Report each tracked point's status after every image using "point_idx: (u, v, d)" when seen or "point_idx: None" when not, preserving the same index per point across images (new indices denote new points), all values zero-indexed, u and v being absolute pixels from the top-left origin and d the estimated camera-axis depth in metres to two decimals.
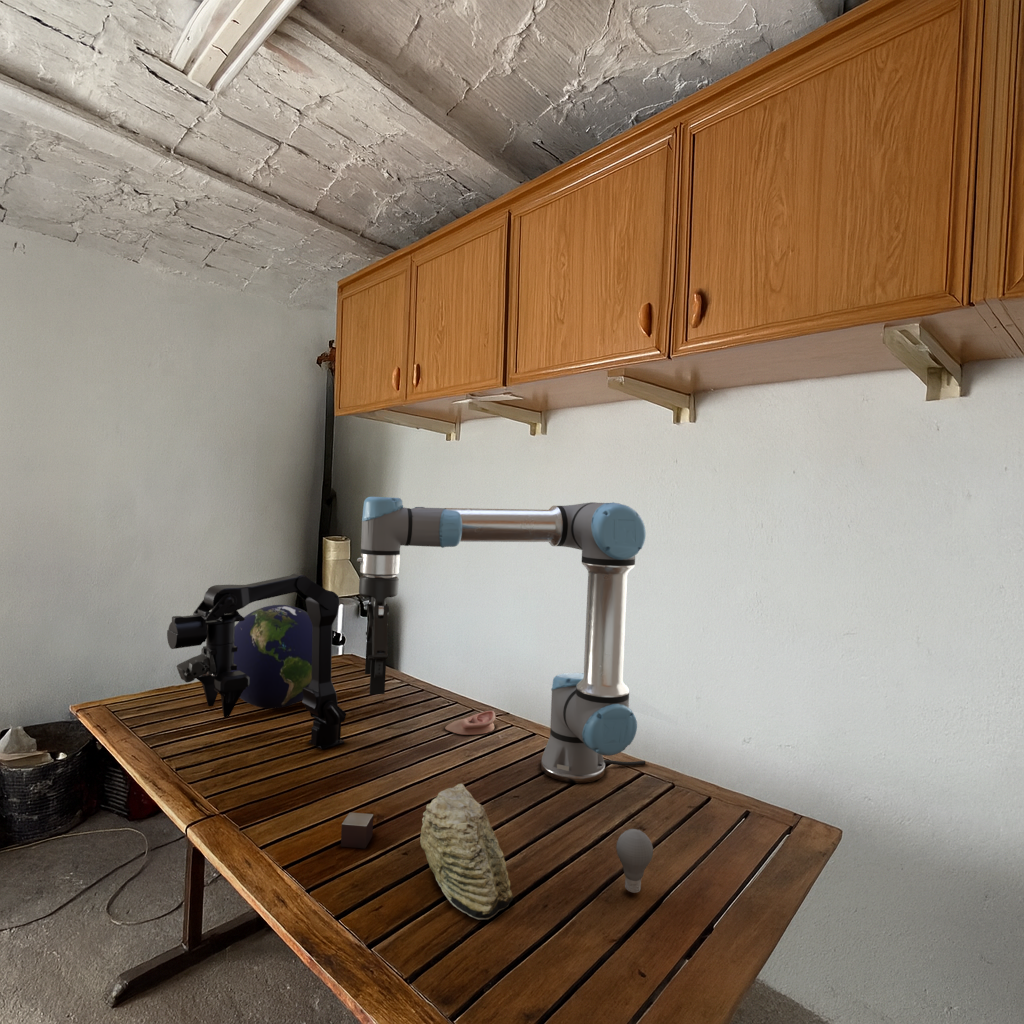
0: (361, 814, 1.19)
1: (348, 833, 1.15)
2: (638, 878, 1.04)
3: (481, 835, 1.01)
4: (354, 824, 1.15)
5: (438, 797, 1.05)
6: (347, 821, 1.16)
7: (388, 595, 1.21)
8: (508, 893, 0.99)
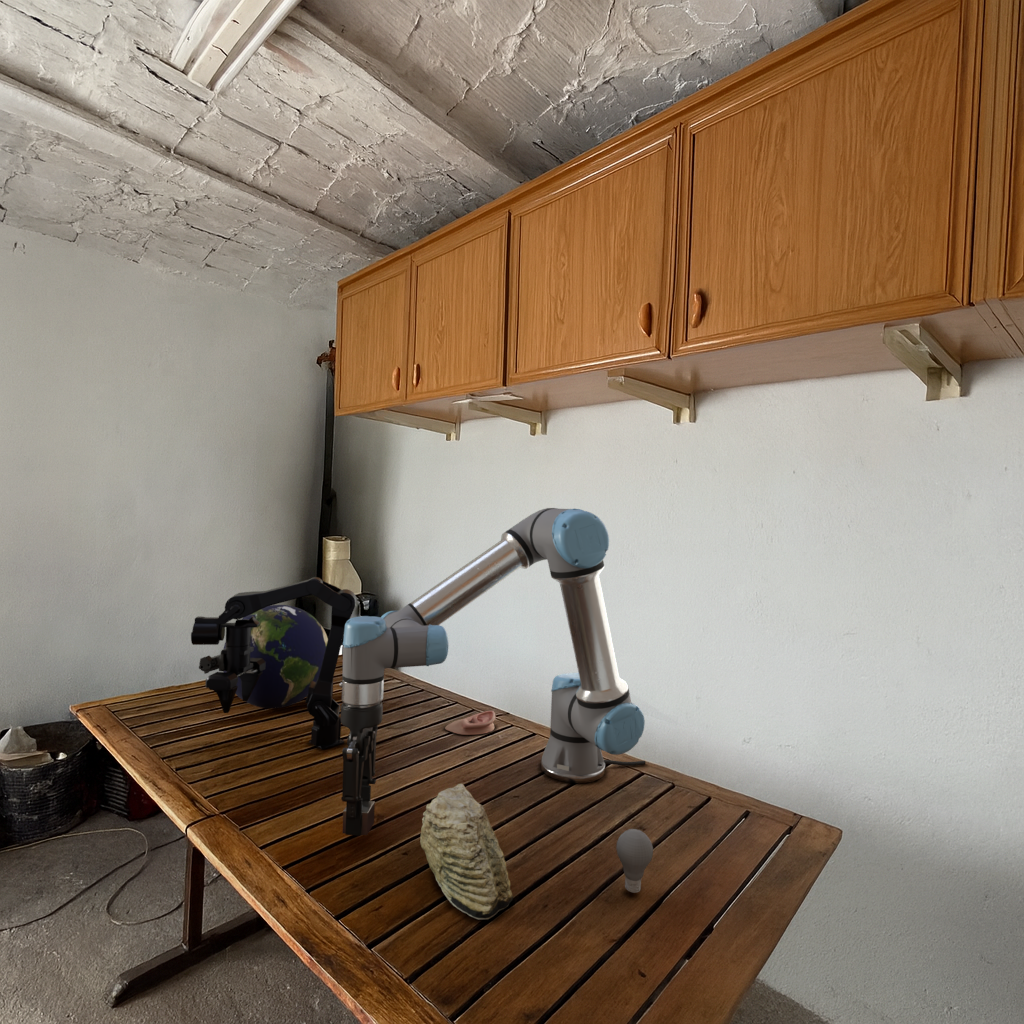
0: (362, 801, 1.19)
1: None
2: (638, 878, 1.04)
3: (481, 835, 1.01)
4: None
5: (438, 797, 1.05)
6: None
7: (364, 727, 1.13)
8: (508, 893, 0.99)
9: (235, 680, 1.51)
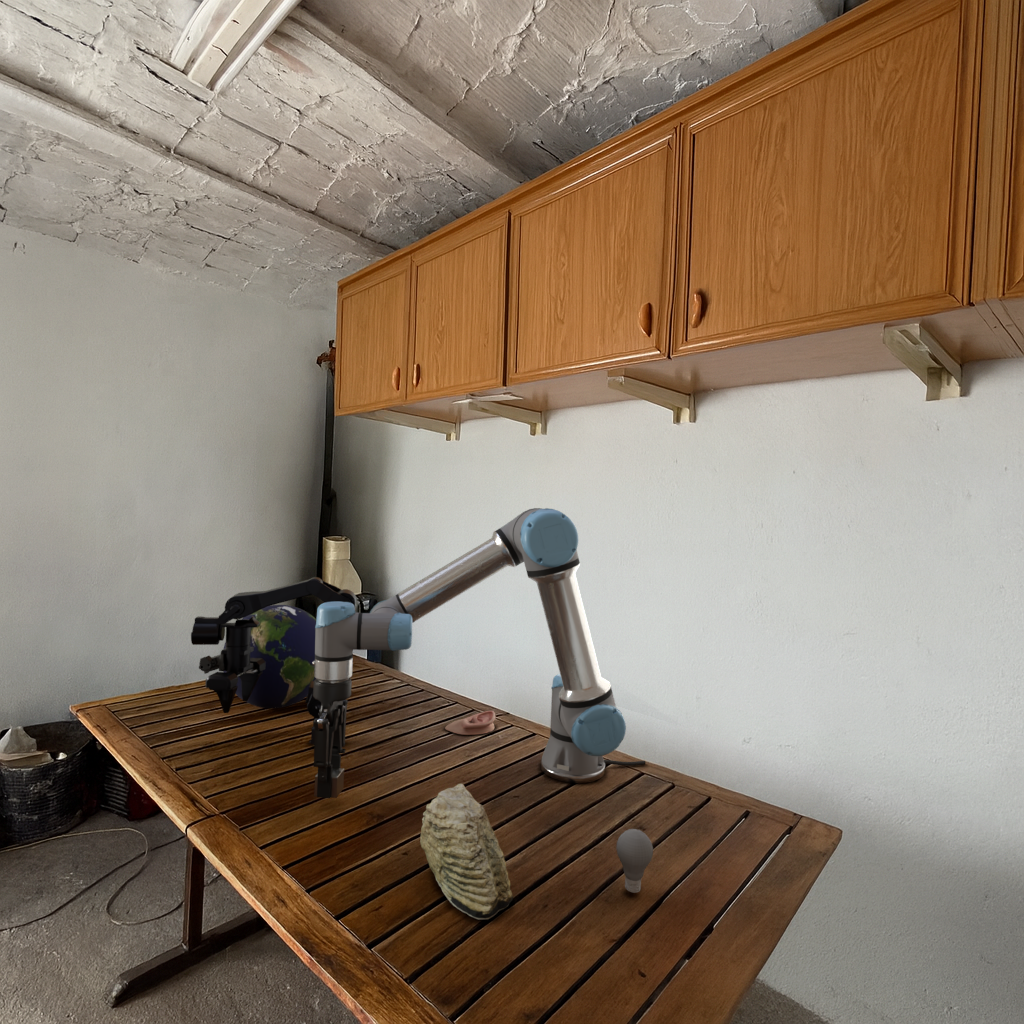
0: (333, 768, 1.32)
1: None
2: (638, 878, 1.04)
3: (481, 835, 1.01)
4: None
5: (438, 797, 1.05)
6: None
7: (334, 700, 1.26)
8: (508, 893, 0.99)
9: (235, 680, 1.51)
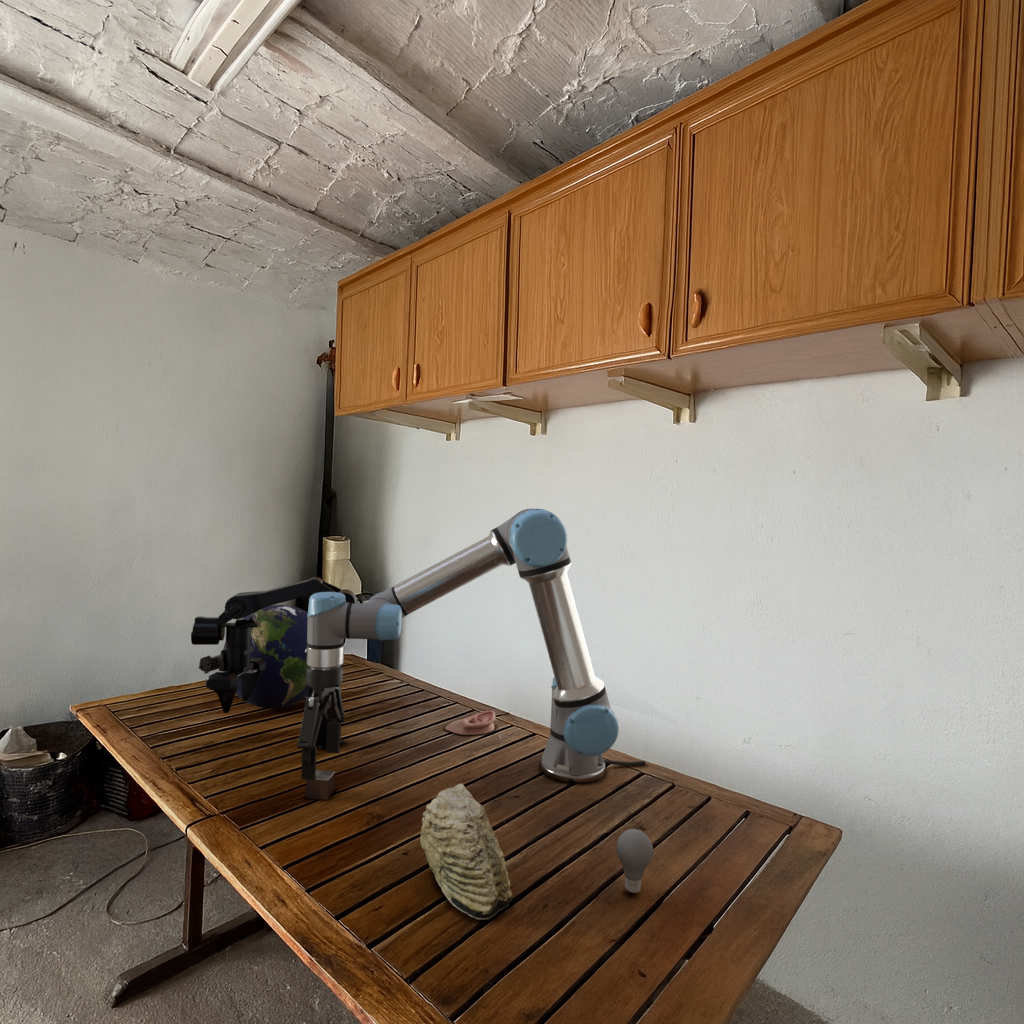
0: (324, 771, 1.36)
1: (312, 786, 1.33)
2: (638, 878, 1.04)
3: (481, 835, 1.01)
4: (317, 779, 1.33)
5: (438, 797, 1.05)
6: None
7: (325, 686, 1.31)
8: (508, 893, 0.99)
9: (235, 680, 1.51)
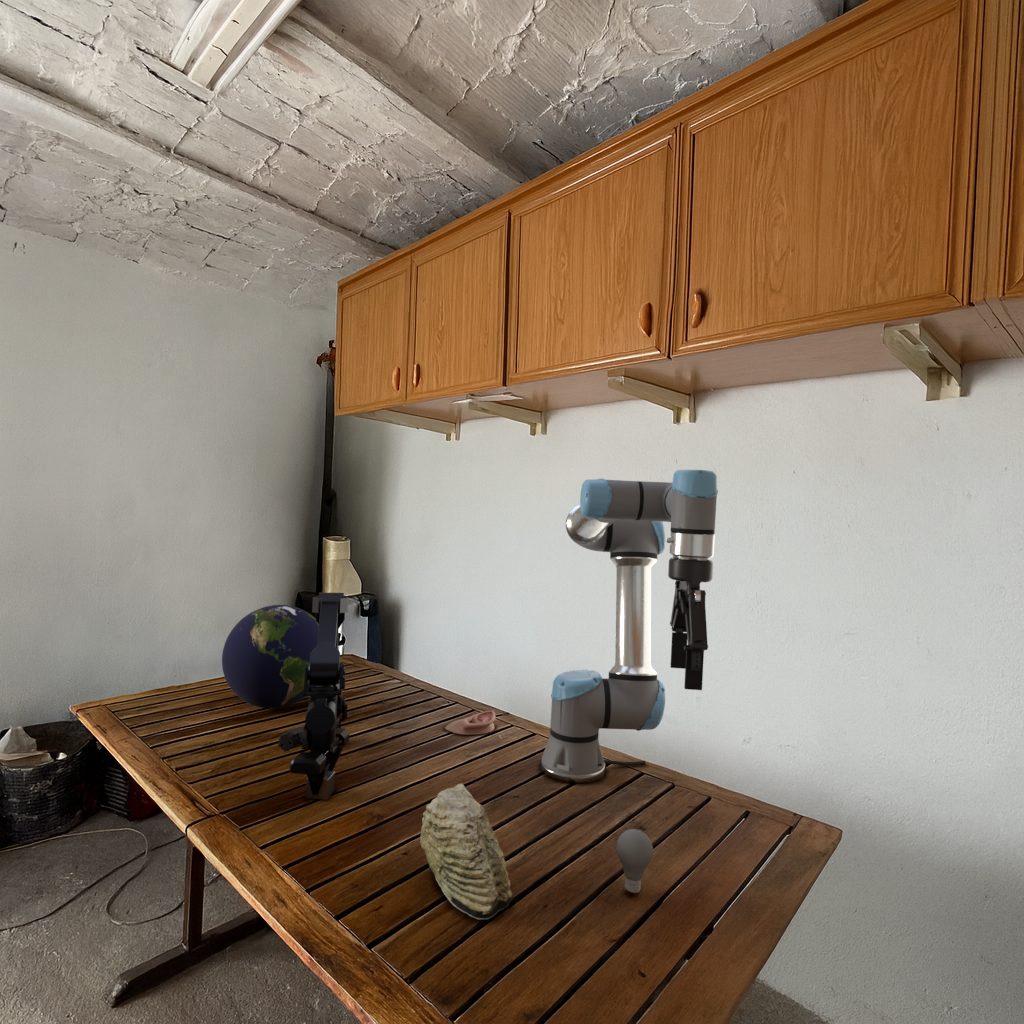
0: None
1: None
2: (638, 878, 1.04)
3: (481, 835, 1.01)
4: None
5: (438, 797, 1.05)
6: None
7: (703, 579, 1.08)
8: (508, 893, 0.99)
9: (323, 763, 1.28)
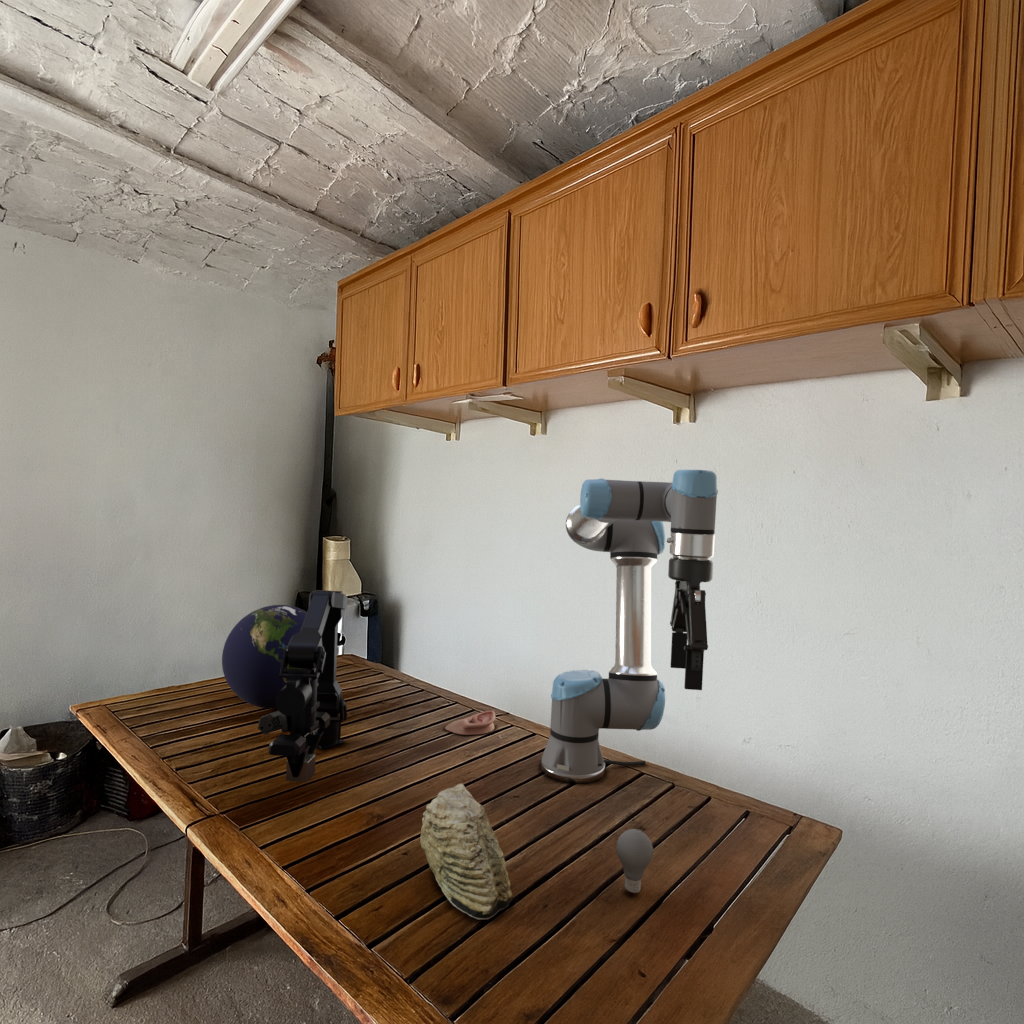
0: None
1: None
2: (638, 878, 1.04)
3: (481, 835, 1.01)
4: None
5: (438, 797, 1.05)
6: None
7: (703, 579, 1.08)
8: (508, 893, 0.99)
9: (303, 744, 1.28)
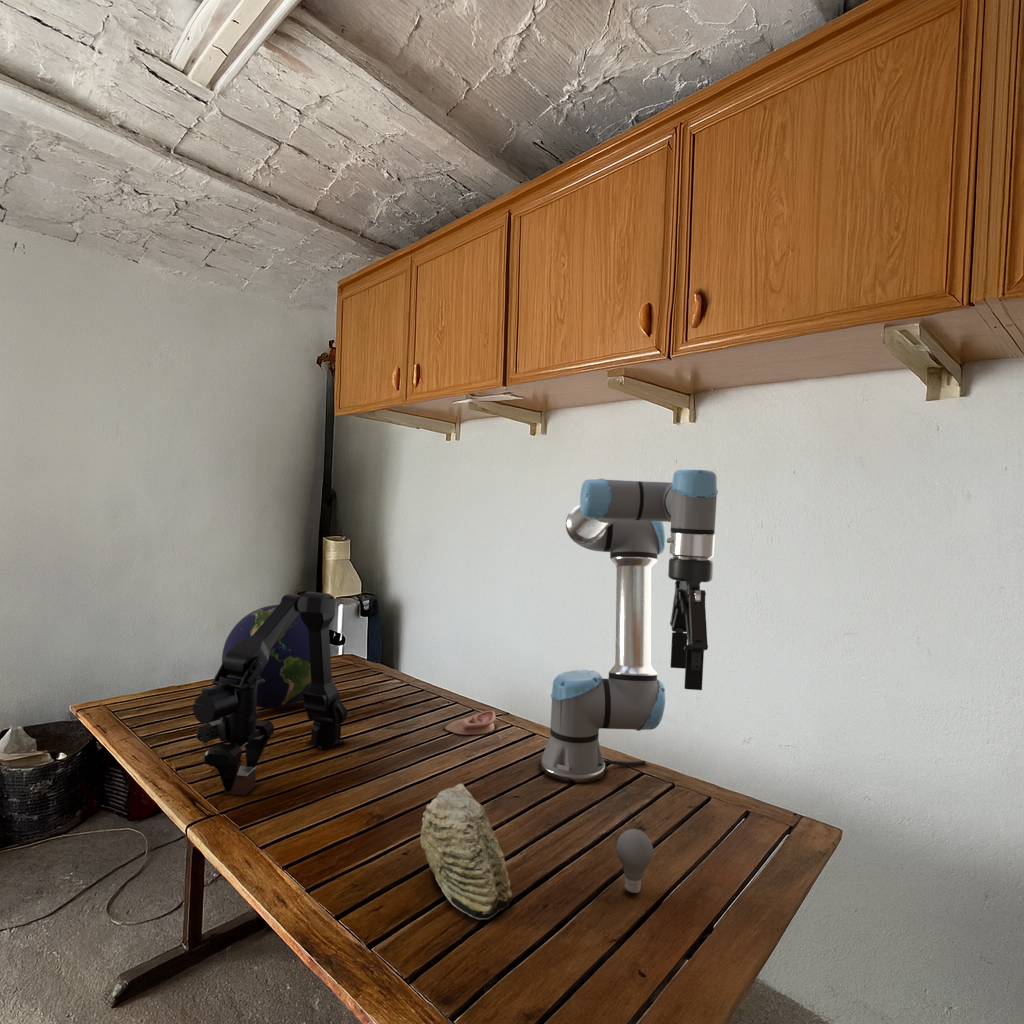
0: (245, 767, 1.37)
1: None
2: (638, 878, 1.04)
3: (481, 835, 1.01)
4: None
5: (438, 797, 1.05)
6: None
7: (703, 579, 1.08)
8: (508, 893, 0.99)
9: (239, 754, 1.28)
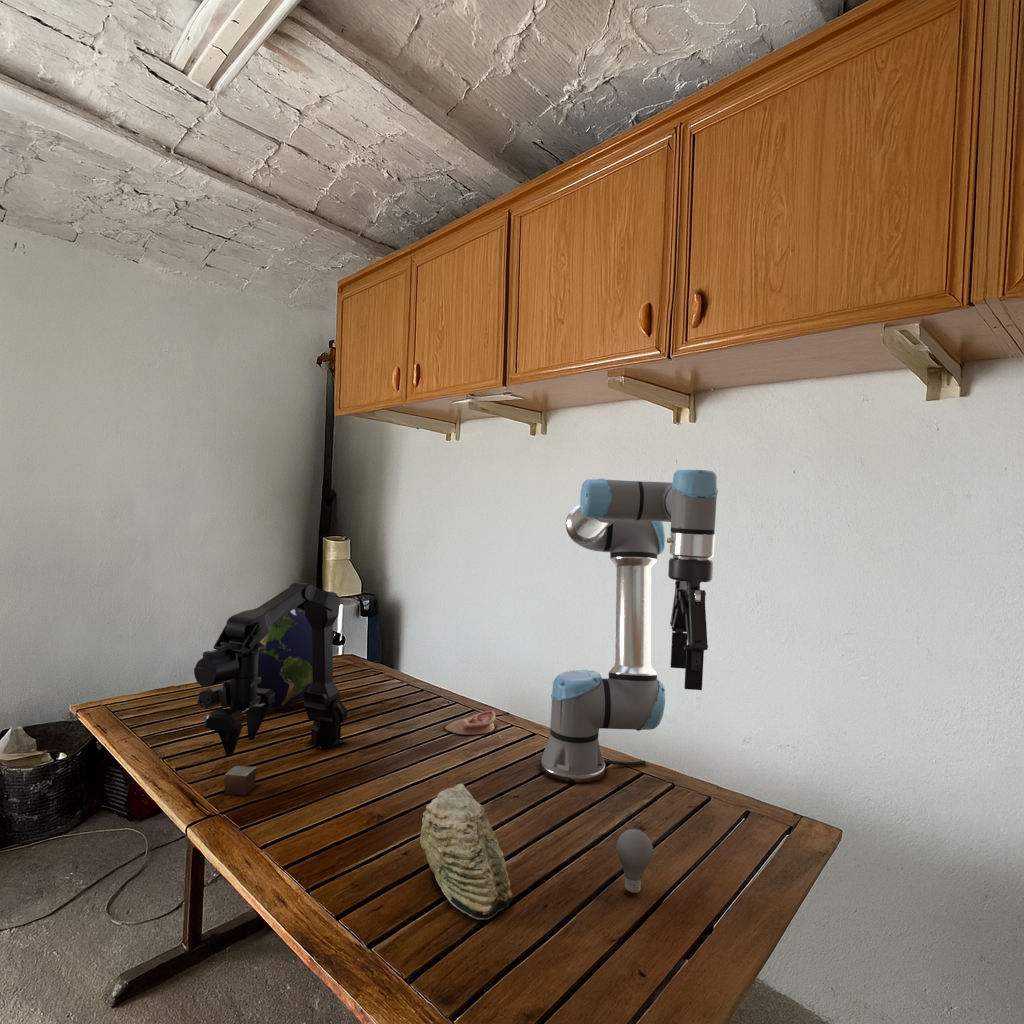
0: (245, 767, 1.37)
1: (230, 782, 1.33)
2: (638, 878, 1.04)
3: (481, 835, 1.01)
4: (236, 774, 1.33)
5: (438, 797, 1.05)
6: (230, 772, 1.34)
7: (703, 579, 1.08)
8: (508, 893, 0.99)
9: (240, 718, 1.28)
